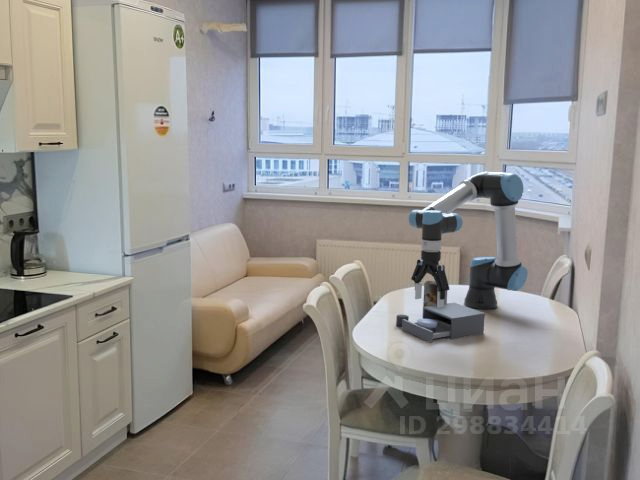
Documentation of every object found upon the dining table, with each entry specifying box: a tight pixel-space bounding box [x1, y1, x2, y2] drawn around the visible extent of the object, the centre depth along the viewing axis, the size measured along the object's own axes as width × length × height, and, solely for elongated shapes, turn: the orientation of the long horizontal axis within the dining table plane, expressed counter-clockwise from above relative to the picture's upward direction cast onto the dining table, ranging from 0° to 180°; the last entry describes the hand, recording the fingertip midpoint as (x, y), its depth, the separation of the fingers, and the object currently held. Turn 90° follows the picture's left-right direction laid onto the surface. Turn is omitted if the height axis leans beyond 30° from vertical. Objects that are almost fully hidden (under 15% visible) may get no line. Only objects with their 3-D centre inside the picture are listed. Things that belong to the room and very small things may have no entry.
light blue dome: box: [416, 318, 438, 329], centre depth 243 cm, size 8×8×2 cm
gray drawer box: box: [422, 302, 486, 340], centre depth 250 cm, size 17×18×8 cm
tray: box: [401, 319, 451, 343], centre depth 245 cm, size 17×18×4 cm
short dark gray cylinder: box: [395, 314, 410, 328], centre depth 255 cm, size 5×5×4 cm
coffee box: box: [422, 280, 448, 308], centre depth 265 cm, size 9×6×16 cm
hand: (428, 302), depth 242 cm, fingers open, 13 cm apart
